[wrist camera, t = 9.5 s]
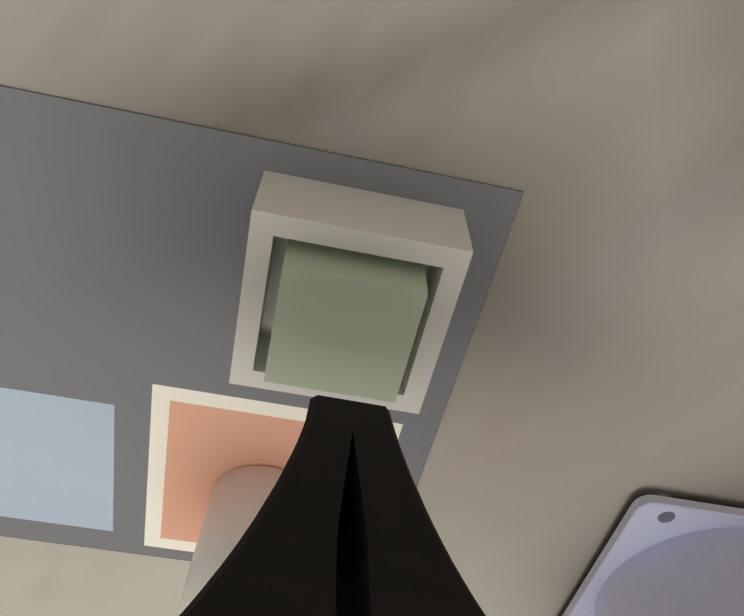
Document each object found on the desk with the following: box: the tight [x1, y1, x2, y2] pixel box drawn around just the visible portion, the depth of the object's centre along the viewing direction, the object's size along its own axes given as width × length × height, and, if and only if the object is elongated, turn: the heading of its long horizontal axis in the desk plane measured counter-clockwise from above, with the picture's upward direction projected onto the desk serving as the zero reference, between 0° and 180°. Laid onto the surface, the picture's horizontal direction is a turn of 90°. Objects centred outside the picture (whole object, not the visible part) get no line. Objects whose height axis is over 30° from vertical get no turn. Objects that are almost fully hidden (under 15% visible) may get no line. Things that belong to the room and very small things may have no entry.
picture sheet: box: [0, 85, 523, 561], centre depth 20 cm, size 15×15×1 cm
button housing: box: [229, 170, 473, 414], centre depth 16 cm, size 5×5×2 cm
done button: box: [264, 239, 428, 403], centre depth 16 cm, size 3×3×2 cm
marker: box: [176, 466, 283, 616], centre depth 19 cm, size 3×3×8 cm
